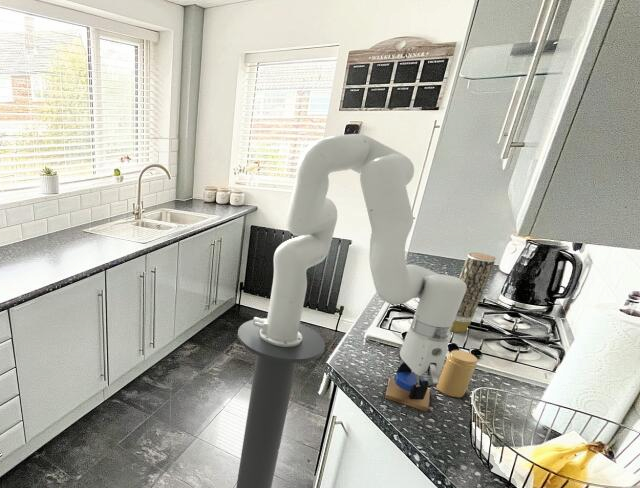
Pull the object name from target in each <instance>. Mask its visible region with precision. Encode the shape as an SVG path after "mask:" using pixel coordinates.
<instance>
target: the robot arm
mask: <svg viewBox="0 0 640 488" xmlns="http://www.w3.org/2000/svg"><path fill="white" fill-rule="evenodd" d="M296 166H297V167H296V173H295V179H294V184H293V188H292V192H291V196H290V201H289V206H288V209H287V210H288V211H287V215H286V228H287V230H288V232H289V233H290V234H292V235H293V236H296V237H293V238H290V239H288V240H285V241H283V242H282V243H280V244H279V245H278V246H277V248H276V249H275V251H274V254H273V278H272V285H271V291H270V299H269V304H268V311H267V316H266V318H267V319H260V318H261V317H257V316H254V317H253V319H254V320H253V319H252V320H253V323H255V324H254V326H257V327H261V330H260V336H261V338H262V339H263V340H264V341H266V342H268V343H270V344H272V345H276V346H280V347H293V346H297V345H299V344H300V343H301V342H302V335H301V334H300V333H299V332H298V330H299V325H300V324H301V319H302V314H303V309H304V304H305V299H306V294H307V288H308V277H307V271H308V269H309V268H311V267H314V266H317V265H319V264H321V263H322V262H323V261H324V260H325V259H326V257H327V256H328V253H329V251H330V248H331V244H332V240H333V236H334V233H335V229H336V226H337V222H338V209H337V206H336V204H335V203H334V202H333V200H331V199H330V198H328V197H327V194H328V191H329V187H330V185H329V184H330V183H329V182H330V180H329V179H330V178H329V175H330V174H331V173H335V172H341V171H348V170H352V171H354V172H356V173H357V174H359V182H360V187H361V192H362V195H363V199H364V203H365V208H366V212H367V216H368V220H369V223H370V230H371V234H370V240H369V254H368V255H369V258H368V259H369V268H370V273H371V277H372V281H373V285H374V288H375V291H376V293H377V295H378V296H379V297H380V299H381V300H383V302H385V303H387V304H390V305H393V306H394V305H395V306H396V305H397V306H399V305H402V304H405V303H408V302H410V301H411V300H413V299H415V298H418V299H419V300H418V303H417V306H416V309H415V311H414V315H413V317H412V321H411V323H410V327H409V328H408V331H407V332H406V334H405V337H404V338H403V341H402V345H398V360H399V361H398V362H397V370H396V373H395V375H394V377H393V378H394V379H395V377H396V375H397V373H399V372H409V373H413V374H416V384H413V386H412V389H411V392H410V395H409V398H410V399H419V400H422V399H424V396H425V394H426V391H427V389H430V388H431V387H435V386H436V385H437V384H438V383H439V381H438V380H439V377H440V375H441V372H442V369H443V367H444V364H445V362H446V359H447V354H448V348H449V340H448V339H449V335H450V334H451V332H452V331H451V328H452V326H453V323H454V320H455V318H456V315H457V313H458V310H459V307H460V305H461V302H462V300H463V297H464V295H465V292H466V289H467V286H466V283H465V282H464V281H463V280H461V279H459V277H456V276H453V275H449V274H440V273H437V272H435V271H433V270H430V269H429V268H425V267H423V266H420V265H417V264H412V263H411V264H407V262H406V244H407V240H408V237H409V235H410V233H411V230H412V228H413V224H414V215H413V210H412V207H411V202H410V199H409V194H408V190H407V186H408V184H409V183H411V181H412V180H413V178H414V174H415V166H414V164H413V162H412V160H411V159H410V158H409V157H408V156H406V155H405V154H403V153H401V152H399V151H398V150H396V149H393V148H391V147H390V146H388V145H385V144H383V143H382V142H380V141H378V140H376V139H374V138H372V137H370V136H368V135H365V134H363V133H362V134H361V133H348V134H336V135H330V136H326V137H323V138H320V139H317V140H315V141H314V142H313V143H311V144H309V145H308V146H307V147H306V148H305V149H304V150H303V152H302V153H301V155H300V157H299V159H298V163H297V165H296ZM421 377H422V378H424V380H425V381H422V382H421Z"/></svg>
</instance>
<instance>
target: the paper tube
mask: <svg viewBox="0 0 640 488" xmlns="http://www.w3.org/2000/svg"><path fill="white" fill-rule="evenodd" d="M496 260H497V258H496V257H495V256H493V255H490V254H487V253H480V252H469V253H468V254H467V256H466V258H465V261H464V264H463V266H462V270H461V272H460V275H459V277H458V278H459V279H461V280H463V281H464V282H465V283H466V286H467V289H466V292H465V295H464V297H463V300H462V302H461V305H460V307H459V310H458V313H457V315H456V318H455V320H454V323H453V326H452V328H451V331H450V332H454V333H458V334H459V333H460V334H461V333H466V332H468V330H467V328H468V326H469V327H470V326H471V323H472V320H473V318H474V316H475V313H476V311H477V308H478V305H479V303H480V300H481V299H482V295H483V293H484V290H485V288H486V285H487V283H488V280H489V278H490V275H491V273H492V271H493V268H494V266H495V263H496ZM468 329H469V328H468Z"/></svg>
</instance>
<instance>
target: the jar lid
mask: <svg viewBox="0 0 640 488" xmlns="http://www.w3.org/2000/svg"><path fill="white" fill-rule="evenodd" d="M395 375H396V374H395ZM394 378H395V380H394V381H395V383H396V384H397V385H398V386H399V387H400V388H402V389H404V390H406V391H409V392H411V389H412V386H413V384H416V374H415V373H414V372H411V373H409V372H399V373H397V375H396V377H395V376H394ZM422 381H425V378H424V377H421V382H422Z"/></svg>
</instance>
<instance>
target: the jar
mask: <svg viewBox="0 0 640 488" xmlns="http://www.w3.org/2000/svg"><path fill="white" fill-rule="evenodd" d="M478 361H479V359H478V358H477V356H475V355H474V354H473V353H470V352H468V351H464V350H459V349H458V350H456V349H455V350H451V351H450V353H449V354H448V355H447V356H446V358H445V361H444V365H443V368H442V371H441V373H440V375H439V377H438V381H439V383H438V384H437V385H435V386H436V387H435V388H436V389H437V390H438V391H439V392H441V393H442V394H443V395H446V396H449V397H451V398H462V397H464V396H465V395H466V393H467V389H468V388H469V385H470V383H471V380H472V378H473V375H474V373H475V371H476V369H477V366H478V364H477V363H478Z"/></svg>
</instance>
